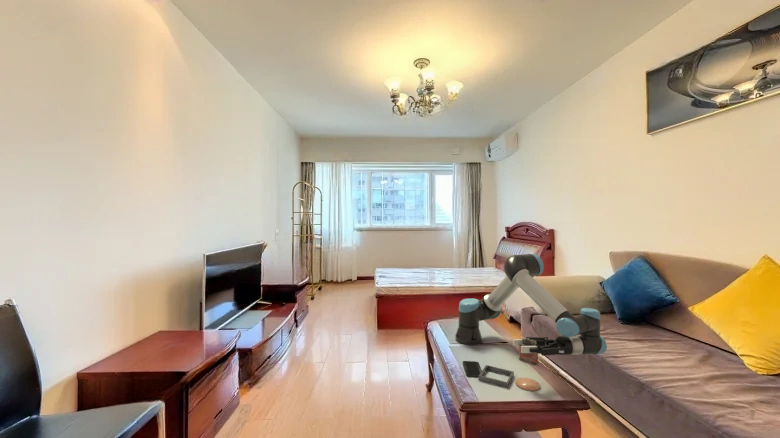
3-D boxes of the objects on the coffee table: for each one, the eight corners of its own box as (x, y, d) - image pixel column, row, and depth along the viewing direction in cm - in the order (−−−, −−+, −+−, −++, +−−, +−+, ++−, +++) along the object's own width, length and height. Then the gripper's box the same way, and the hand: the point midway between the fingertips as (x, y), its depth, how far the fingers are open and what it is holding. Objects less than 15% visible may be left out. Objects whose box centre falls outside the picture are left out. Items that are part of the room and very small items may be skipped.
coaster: (517, 377, 152) (517, 375, 152) (541, 383, 146) (541, 381, 146) (513, 386, 143) (513, 385, 143) (538, 393, 138) (538, 391, 138)
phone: (478, 361, 166) (483, 376, 151) (478, 363, 166) (483, 378, 151) (462, 360, 166) (466, 375, 151) (462, 363, 166) (466, 377, 151)
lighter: (517, 360, 146) (517, 337, 146) (520, 358, 149) (521, 335, 148) (536, 366, 140) (536, 342, 140) (539, 363, 143) (539, 340, 143)
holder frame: (486, 369, 159) (486, 364, 159) (513, 376, 153) (513, 371, 153) (478, 380, 148) (478, 375, 148) (508, 388, 142) (508, 383, 142)
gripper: (583, 363, 136) (528, 365, 134) (555, 345, 156) (507, 345, 154) (583, 345, 136) (528, 346, 134) (555, 329, 155) (507, 329, 154)
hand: (517, 346), depth 144 cm, fingers closed on lighter, 7 cm apart
